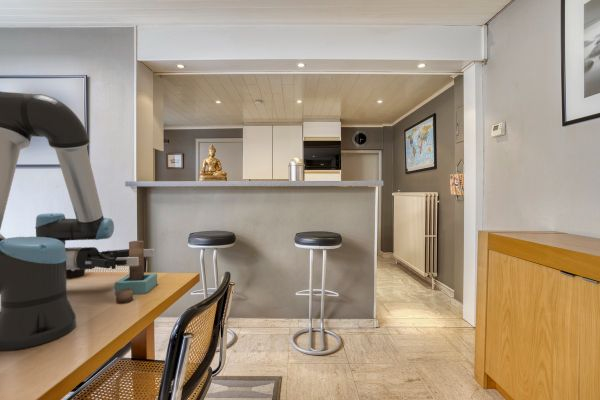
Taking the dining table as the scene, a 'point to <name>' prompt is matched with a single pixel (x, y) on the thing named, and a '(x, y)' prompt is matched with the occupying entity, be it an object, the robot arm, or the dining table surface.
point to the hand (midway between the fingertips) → (146, 256)
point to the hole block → (137, 284)
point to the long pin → (138, 251)
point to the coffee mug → (75, 273)
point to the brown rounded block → (124, 296)
